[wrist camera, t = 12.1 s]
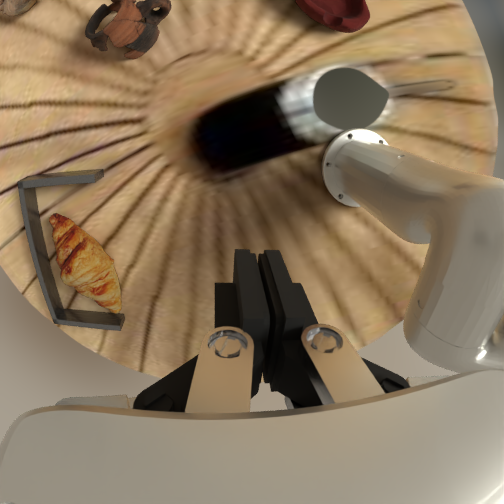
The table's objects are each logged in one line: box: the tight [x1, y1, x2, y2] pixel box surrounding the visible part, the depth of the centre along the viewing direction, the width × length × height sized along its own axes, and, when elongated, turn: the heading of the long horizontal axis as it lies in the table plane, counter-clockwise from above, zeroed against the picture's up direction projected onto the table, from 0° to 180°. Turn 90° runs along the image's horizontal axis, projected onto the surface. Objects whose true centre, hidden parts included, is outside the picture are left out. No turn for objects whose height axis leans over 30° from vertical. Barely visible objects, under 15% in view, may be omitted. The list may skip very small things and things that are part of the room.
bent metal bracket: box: [18, 169, 125, 331], centre depth 42 cm, size 15×28×4 cm, turn 176°
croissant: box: [49, 213, 122, 314], centre depth 42 cm, size 21×10×8 cm, turn 23°
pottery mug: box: [85, 0, 171, 59], centre depth 26 cm, size 12×10×8 cm
